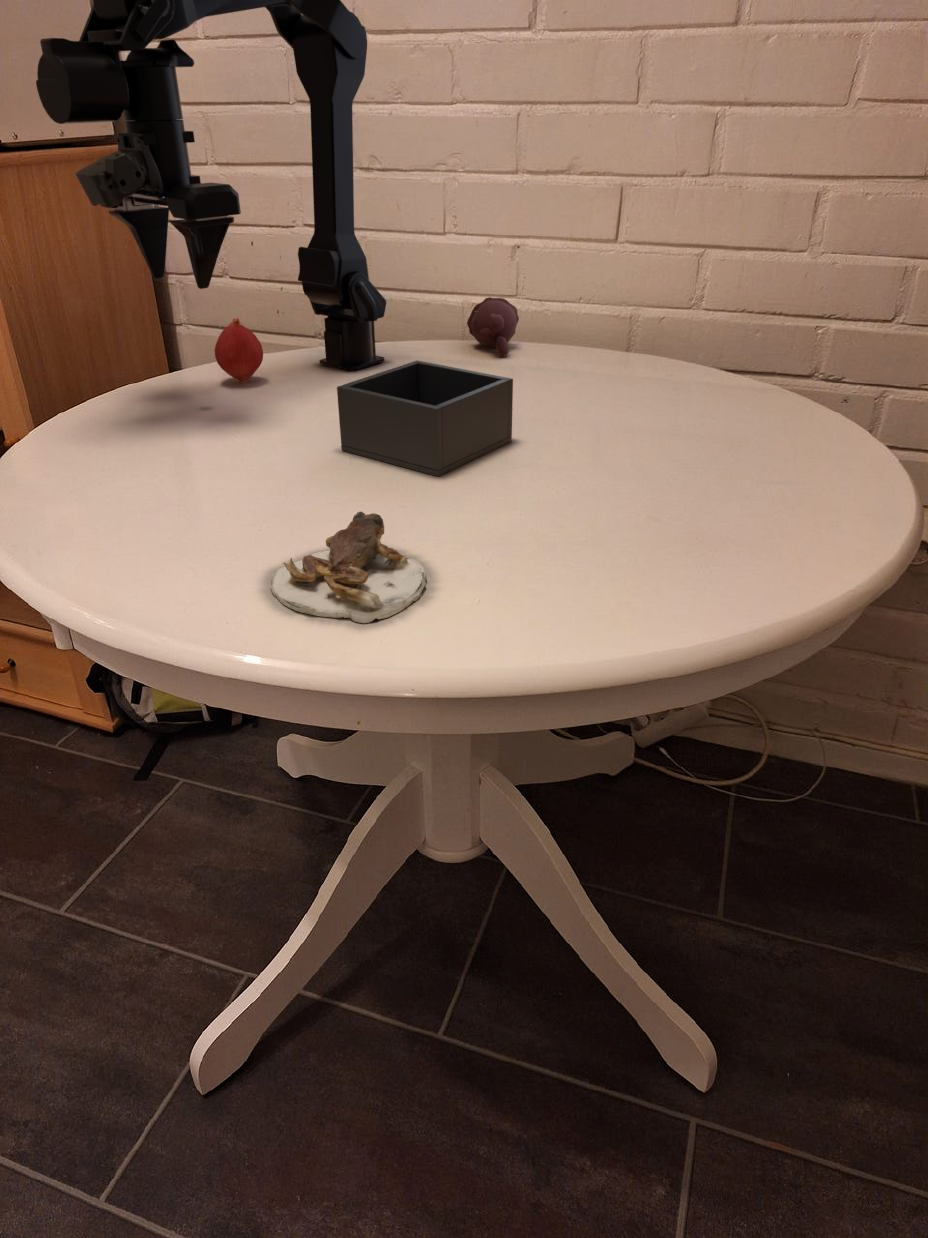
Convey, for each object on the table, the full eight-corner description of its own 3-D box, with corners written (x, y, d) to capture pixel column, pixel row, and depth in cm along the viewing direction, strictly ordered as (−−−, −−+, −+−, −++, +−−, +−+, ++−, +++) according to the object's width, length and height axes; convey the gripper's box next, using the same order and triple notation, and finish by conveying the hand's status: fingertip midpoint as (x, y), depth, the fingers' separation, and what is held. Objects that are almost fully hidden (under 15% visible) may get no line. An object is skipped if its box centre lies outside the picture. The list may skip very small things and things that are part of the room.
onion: (210, 385, 114) (200, 320, 110) (236, 374, 118) (228, 310, 114) (249, 390, 112) (241, 323, 108) (274, 378, 117) (267, 314, 113)
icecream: (457, 290, 134) (467, 322, 122) (506, 276, 133) (521, 306, 121) (469, 335, 138) (480, 370, 126) (516, 322, 137) (531, 355, 125)
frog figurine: (311, 539, 75) (306, 495, 73) (449, 558, 71) (448, 513, 69) (239, 604, 65) (232, 556, 63) (395, 629, 62) (392, 580, 60)
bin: (418, 419, 102) (416, 359, 98) (511, 441, 95) (513, 378, 92) (341, 450, 93) (336, 386, 90) (438, 476, 87) (436, 408, 83)
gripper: (34, 121, 92) (70, 283, 100) (126, 124, 81) (158, 306, 89) (135, 117, 99) (161, 269, 107) (232, 120, 88) (253, 289, 96)
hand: (180, 282), depth 99 cm, fingers open, 9 cm apart
